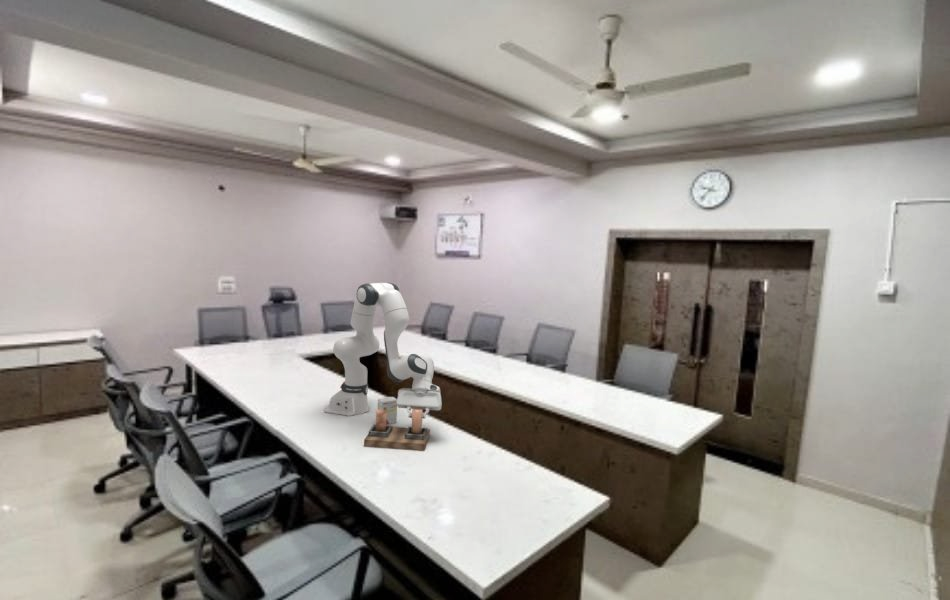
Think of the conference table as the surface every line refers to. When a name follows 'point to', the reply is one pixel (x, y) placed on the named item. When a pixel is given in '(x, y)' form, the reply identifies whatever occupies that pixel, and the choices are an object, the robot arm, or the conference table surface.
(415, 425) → the terracotta pillar
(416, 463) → the conference table surface
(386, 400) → the ink box
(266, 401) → the conference table surface
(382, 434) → the build base
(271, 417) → the conference table surface
